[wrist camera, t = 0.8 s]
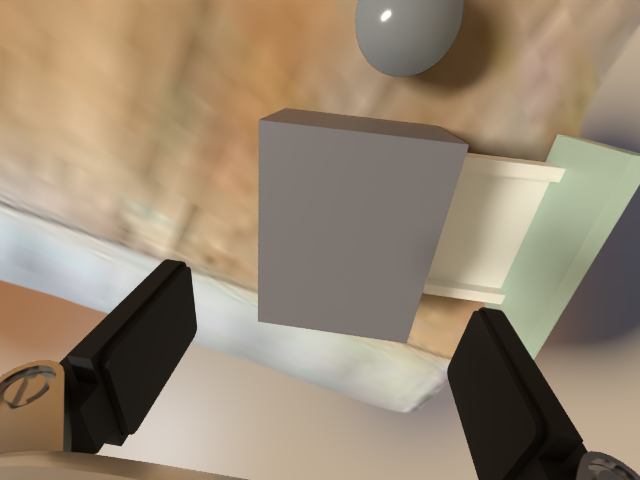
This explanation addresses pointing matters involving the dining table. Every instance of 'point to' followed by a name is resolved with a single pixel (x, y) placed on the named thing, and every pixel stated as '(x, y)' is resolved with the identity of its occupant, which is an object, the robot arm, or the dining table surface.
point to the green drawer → (531, 230)
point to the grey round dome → (406, 33)
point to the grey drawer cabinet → (350, 219)
